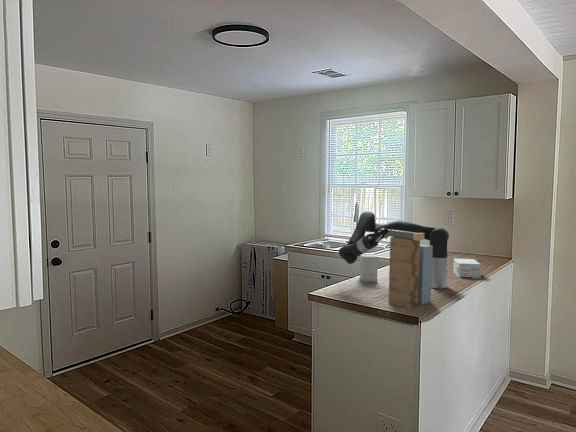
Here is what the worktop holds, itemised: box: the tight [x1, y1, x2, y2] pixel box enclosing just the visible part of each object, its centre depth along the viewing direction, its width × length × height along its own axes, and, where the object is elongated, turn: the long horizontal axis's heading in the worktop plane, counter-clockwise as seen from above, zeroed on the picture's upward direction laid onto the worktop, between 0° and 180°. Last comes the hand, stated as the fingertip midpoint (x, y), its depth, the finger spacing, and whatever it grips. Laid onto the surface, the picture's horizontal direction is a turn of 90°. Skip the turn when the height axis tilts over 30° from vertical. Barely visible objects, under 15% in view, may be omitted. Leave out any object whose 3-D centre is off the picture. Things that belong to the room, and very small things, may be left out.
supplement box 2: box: [452, 258, 482, 279], centre depth 277 cm, size 17×13×9 cm
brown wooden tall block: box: [388, 236, 421, 309], centre depth 209 cm, size 7×12×32 cm, turn 36°
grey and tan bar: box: [379, 229, 425, 241], centre depth 210 cm, size 6×24×3 cm, turn 36°
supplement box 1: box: [359, 254, 379, 283], centre depth 259 cm, size 9×9×15 cm
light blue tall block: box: [418, 243, 433, 305], centre depth 215 cm, size 7×12×28 cm, turn 36°
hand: (389, 229), depth 215 cm, fingers closed on grey and tan bar, 3 cm apart
